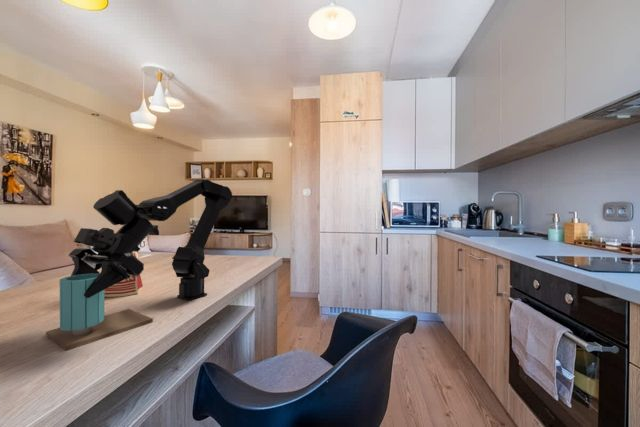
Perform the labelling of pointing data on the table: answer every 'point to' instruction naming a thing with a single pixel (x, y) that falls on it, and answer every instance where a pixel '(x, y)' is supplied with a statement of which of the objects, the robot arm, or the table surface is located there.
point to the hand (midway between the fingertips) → (75, 294)
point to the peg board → (99, 329)
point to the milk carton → (125, 285)
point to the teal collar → (79, 303)
